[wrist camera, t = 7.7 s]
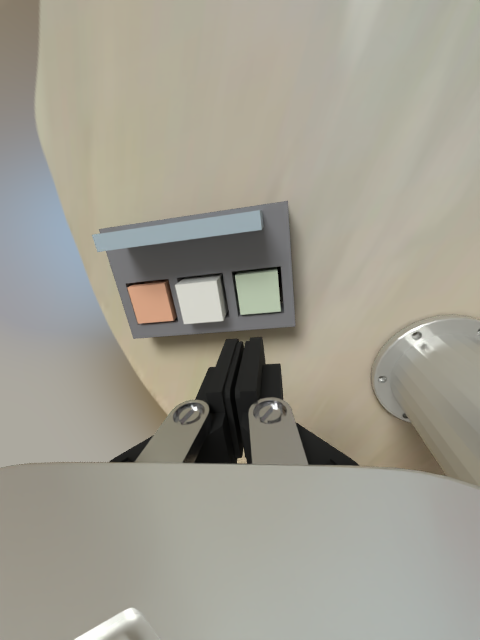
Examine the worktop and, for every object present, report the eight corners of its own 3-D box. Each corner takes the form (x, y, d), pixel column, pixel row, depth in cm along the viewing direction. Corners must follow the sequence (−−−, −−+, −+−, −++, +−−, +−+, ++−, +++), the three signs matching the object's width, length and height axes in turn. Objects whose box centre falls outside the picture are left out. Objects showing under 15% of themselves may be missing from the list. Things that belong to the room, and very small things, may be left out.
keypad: (285, 202, 23) (291, 198, 16) (293, 314, 27) (299, 347, 20) (117, 227, 25) (65, 232, 19) (146, 326, 29) (110, 359, 23)
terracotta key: (175, 275, 26) (164, 283, 23) (183, 309, 27) (173, 320, 25) (142, 279, 27) (127, 287, 24) (151, 312, 28) (138, 323, 25)
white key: (222, 272, 24) (216, 280, 21) (228, 309, 26) (223, 320, 23) (185, 276, 25) (174, 285, 22) (193, 312, 26) (183, 324, 23)
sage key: (276, 264, 24) (277, 270, 22) (279, 300, 26) (280, 311, 23) (239, 268, 25) (234, 275, 22) (243, 304, 26) (240, 314, 24)
